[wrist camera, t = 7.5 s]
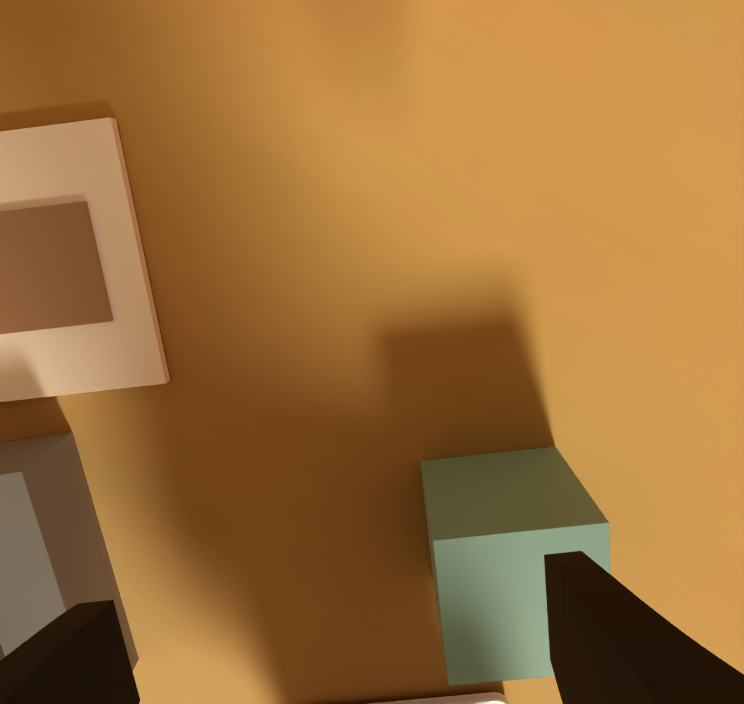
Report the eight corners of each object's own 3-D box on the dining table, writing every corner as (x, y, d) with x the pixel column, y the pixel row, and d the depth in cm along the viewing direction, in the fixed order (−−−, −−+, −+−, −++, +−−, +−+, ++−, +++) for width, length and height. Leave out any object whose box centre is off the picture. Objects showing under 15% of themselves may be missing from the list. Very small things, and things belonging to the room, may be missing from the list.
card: (169, 379, 20) (163, 385, 20) (-11, 400, 20) (-22, 406, 20) (115, 118, 18) (107, 116, 18) (-84, 144, 18) (-98, 143, 18)
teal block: (560, 564, 22) (613, 670, 17) (432, 577, 22) (448, 685, 17) (554, 445, 21) (609, 522, 16) (420, 460, 21) (432, 540, 16)
